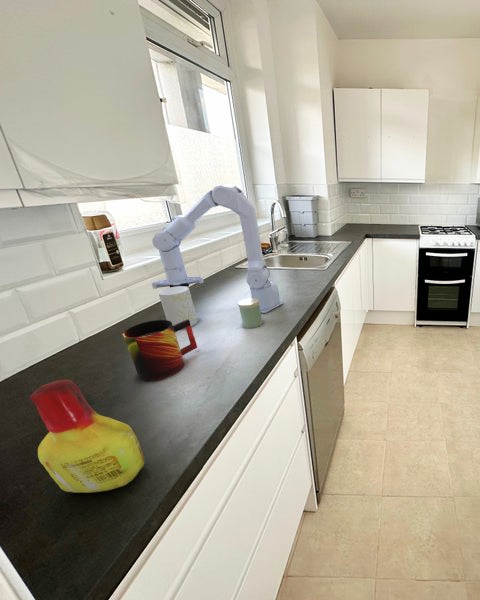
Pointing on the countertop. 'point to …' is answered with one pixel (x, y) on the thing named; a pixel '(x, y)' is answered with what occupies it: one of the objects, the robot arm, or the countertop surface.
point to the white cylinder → (178, 305)
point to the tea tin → (250, 312)
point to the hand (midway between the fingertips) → (184, 304)
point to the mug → (157, 348)
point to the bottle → (84, 442)
